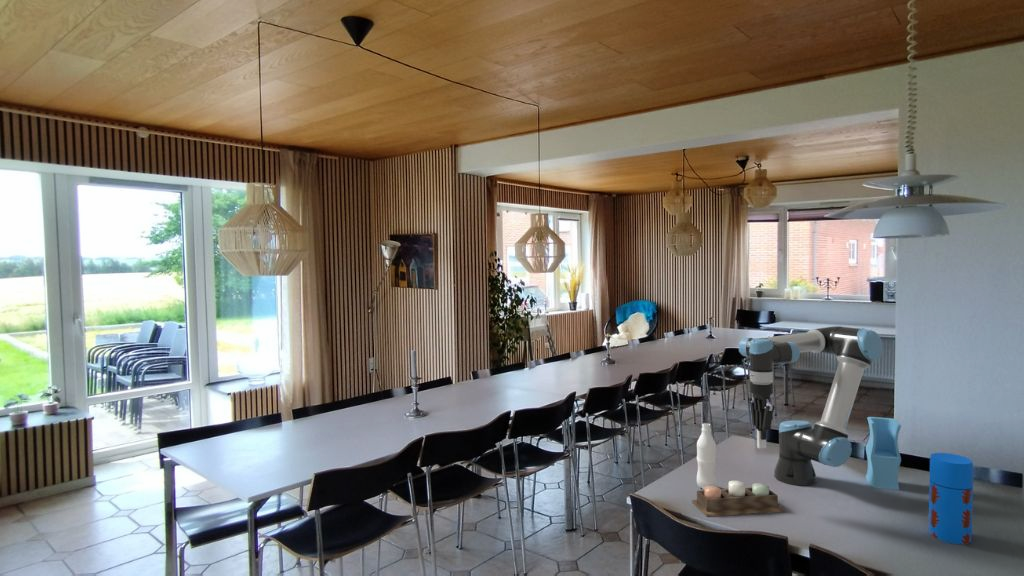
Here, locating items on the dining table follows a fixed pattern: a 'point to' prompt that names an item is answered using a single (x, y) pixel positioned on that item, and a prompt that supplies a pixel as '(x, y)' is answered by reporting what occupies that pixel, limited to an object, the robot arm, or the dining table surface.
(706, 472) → the water bottle
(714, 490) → the pink rounded block
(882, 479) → the vase
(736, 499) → the brown wooden holder
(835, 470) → the dining table surface
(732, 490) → the cream key
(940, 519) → the thermos
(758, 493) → the pale green rounded block
